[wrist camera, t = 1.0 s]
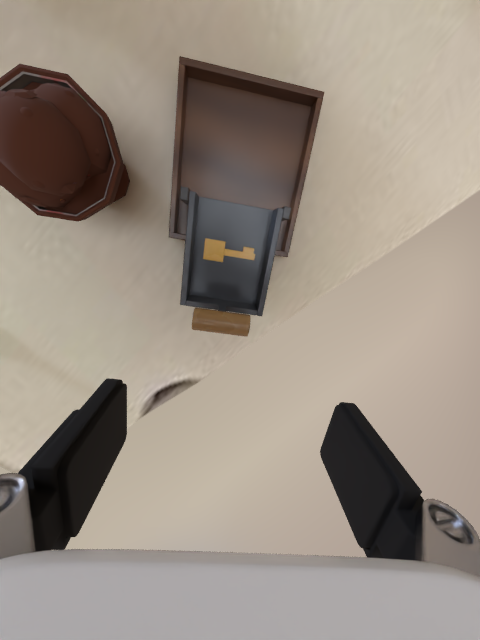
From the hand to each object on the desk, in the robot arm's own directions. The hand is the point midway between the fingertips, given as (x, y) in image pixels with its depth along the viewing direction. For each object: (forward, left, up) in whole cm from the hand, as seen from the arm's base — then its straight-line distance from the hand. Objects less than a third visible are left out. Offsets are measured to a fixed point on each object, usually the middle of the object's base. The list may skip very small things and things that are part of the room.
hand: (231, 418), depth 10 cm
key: (-6, -1, -19) cm, 20 cm away
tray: (-15, -1, -25) cm, 29 cm away
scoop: (-5, -1, -19) cm, 20 cm away
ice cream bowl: (-12, -17, -25) cm, 33 cm away
